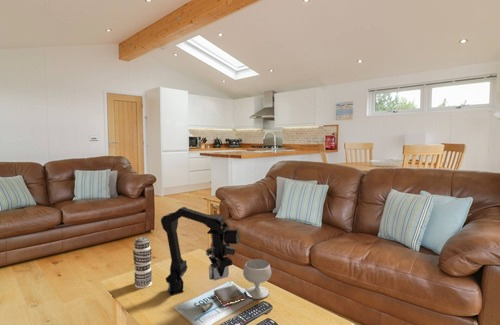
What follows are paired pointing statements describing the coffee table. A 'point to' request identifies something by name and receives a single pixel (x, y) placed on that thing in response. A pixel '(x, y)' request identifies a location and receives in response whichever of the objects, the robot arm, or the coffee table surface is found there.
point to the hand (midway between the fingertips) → (219, 274)
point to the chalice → (257, 277)
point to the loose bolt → (206, 306)
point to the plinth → (229, 294)
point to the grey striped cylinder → (142, 262)
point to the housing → (215, 274)
